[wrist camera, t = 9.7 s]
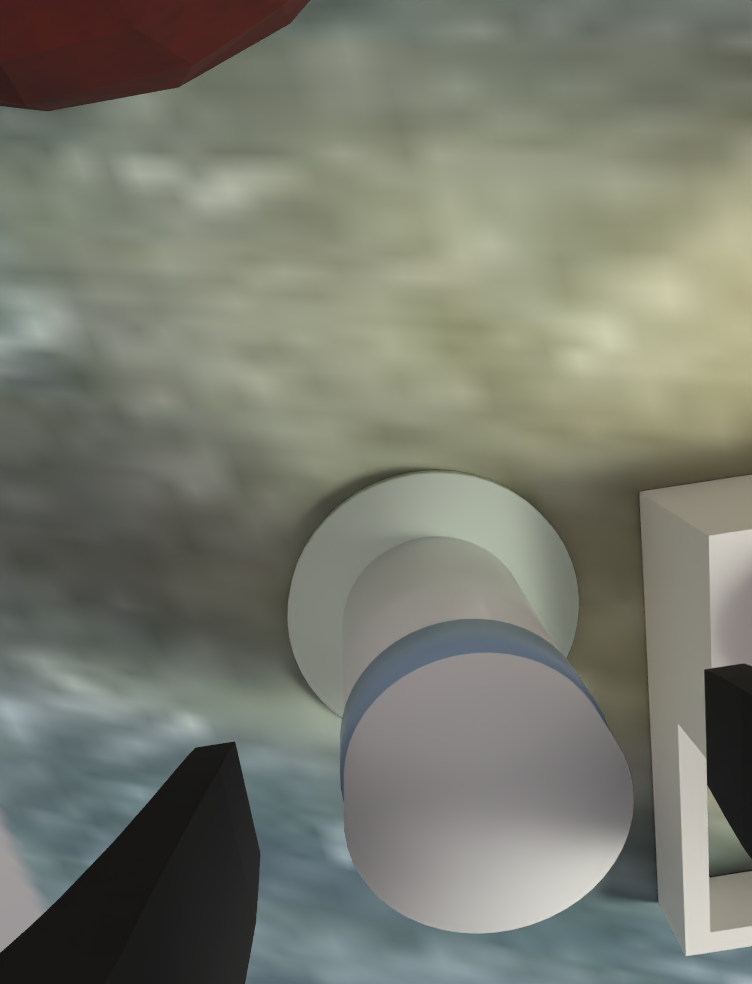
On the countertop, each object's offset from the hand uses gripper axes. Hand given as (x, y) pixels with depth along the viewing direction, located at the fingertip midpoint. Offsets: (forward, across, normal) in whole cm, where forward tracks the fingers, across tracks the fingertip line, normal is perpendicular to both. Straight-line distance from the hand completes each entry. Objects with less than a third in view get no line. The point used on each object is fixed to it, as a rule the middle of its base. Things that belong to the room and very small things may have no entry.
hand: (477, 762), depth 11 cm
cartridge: (+5, 0, 0) cm, 5 cm away
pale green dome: (+5, 0, 0) cm, 5 cm away
